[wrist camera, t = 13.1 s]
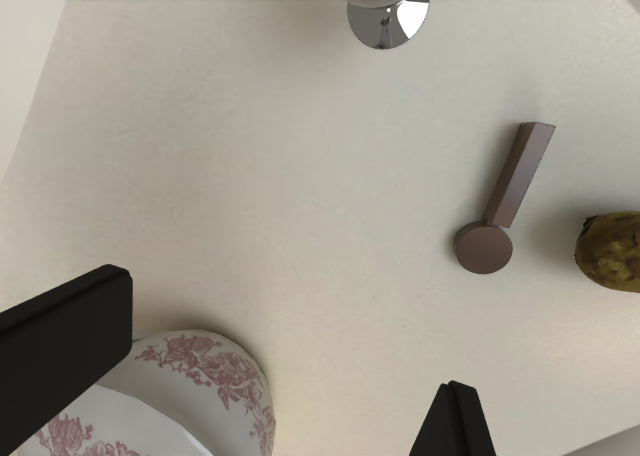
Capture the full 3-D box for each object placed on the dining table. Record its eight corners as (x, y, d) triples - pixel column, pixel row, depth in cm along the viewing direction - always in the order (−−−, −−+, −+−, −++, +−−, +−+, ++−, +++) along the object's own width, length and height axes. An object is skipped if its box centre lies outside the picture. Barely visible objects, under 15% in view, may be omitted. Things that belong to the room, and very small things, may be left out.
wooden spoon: (502, 118, 28) (513, 117, 26) (560, 131, 28) (579, 131, 25) (446, 259, 33) (450, 270, 31) (494, 272, 33) (503, 286, 30)
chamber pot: (304, 466, 48) (240, 694, 29) (149, 425, 54) (10, 590, 34) (307, 305, 39) (219, 474, 20) (123, 276, 45) (-83, 386, 26)
